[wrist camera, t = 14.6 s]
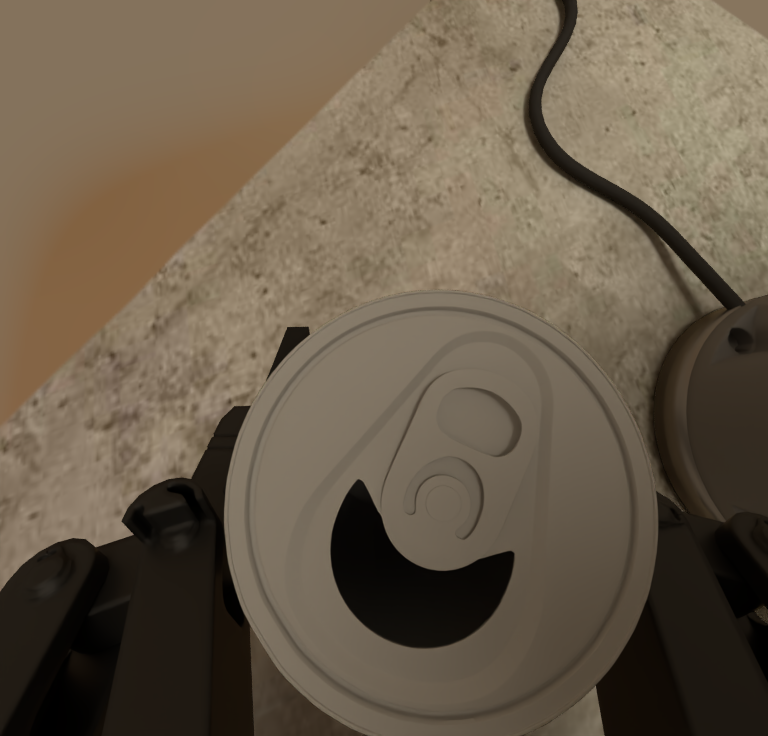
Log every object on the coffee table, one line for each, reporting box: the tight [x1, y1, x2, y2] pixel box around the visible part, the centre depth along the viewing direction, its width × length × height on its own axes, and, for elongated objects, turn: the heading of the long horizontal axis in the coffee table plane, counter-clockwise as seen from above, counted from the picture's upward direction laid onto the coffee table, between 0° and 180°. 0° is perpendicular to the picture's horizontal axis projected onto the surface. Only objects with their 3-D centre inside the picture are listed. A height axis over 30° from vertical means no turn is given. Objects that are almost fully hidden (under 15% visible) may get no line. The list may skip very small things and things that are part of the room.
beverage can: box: [224, 290, 658, 736], centre depth 10 cm, size 6×6×12 cm
